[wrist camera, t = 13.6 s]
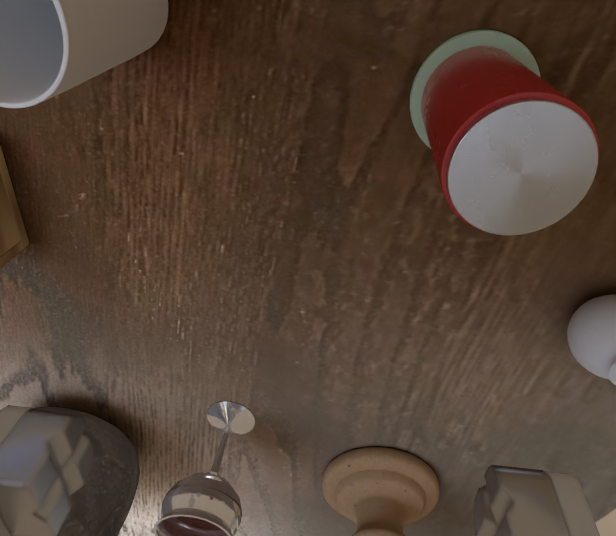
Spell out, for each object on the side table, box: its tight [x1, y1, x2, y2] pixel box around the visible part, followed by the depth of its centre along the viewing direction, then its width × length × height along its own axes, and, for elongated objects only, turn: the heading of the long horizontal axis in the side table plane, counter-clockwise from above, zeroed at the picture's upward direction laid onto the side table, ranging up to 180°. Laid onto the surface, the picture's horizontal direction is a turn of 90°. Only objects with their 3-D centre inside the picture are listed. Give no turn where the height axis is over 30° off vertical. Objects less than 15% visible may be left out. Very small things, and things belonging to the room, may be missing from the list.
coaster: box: [410, 30, 541, 149], centre depth 30 cm, size 8×8×1 cm
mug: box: [0, 0, 168, 108], centre depth 24 cm, size 10×7×12 cm, turn 104°
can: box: [421, 46, 599, 235], centre depth 25 cm, size 6×6×12 cm
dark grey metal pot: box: [11, 407, 140, 536], centre depth 46 cm, size 18×18×15 cm
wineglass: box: [154, 402, 255, 536], centre depth 44 cm, size 7×7×12 cm
